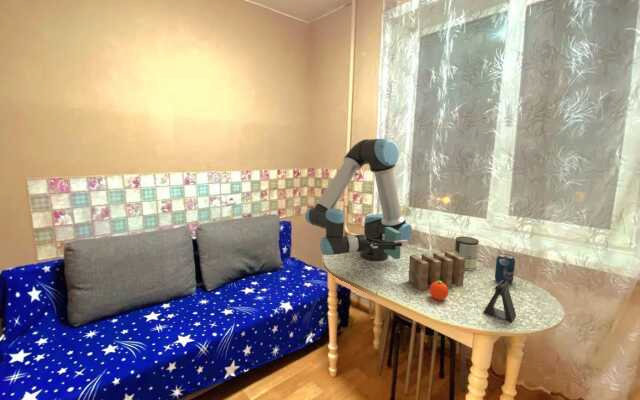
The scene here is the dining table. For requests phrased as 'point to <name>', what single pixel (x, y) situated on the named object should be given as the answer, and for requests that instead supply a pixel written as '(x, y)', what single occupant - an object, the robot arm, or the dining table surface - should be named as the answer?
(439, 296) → the clementine
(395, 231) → the teal domino
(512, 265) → the soda can
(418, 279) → the walnut domino
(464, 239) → the coffee can
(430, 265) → the walnut domino
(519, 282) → the dining table surface
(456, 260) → the walnut domino
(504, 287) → the phone stand
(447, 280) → the walnut domino
